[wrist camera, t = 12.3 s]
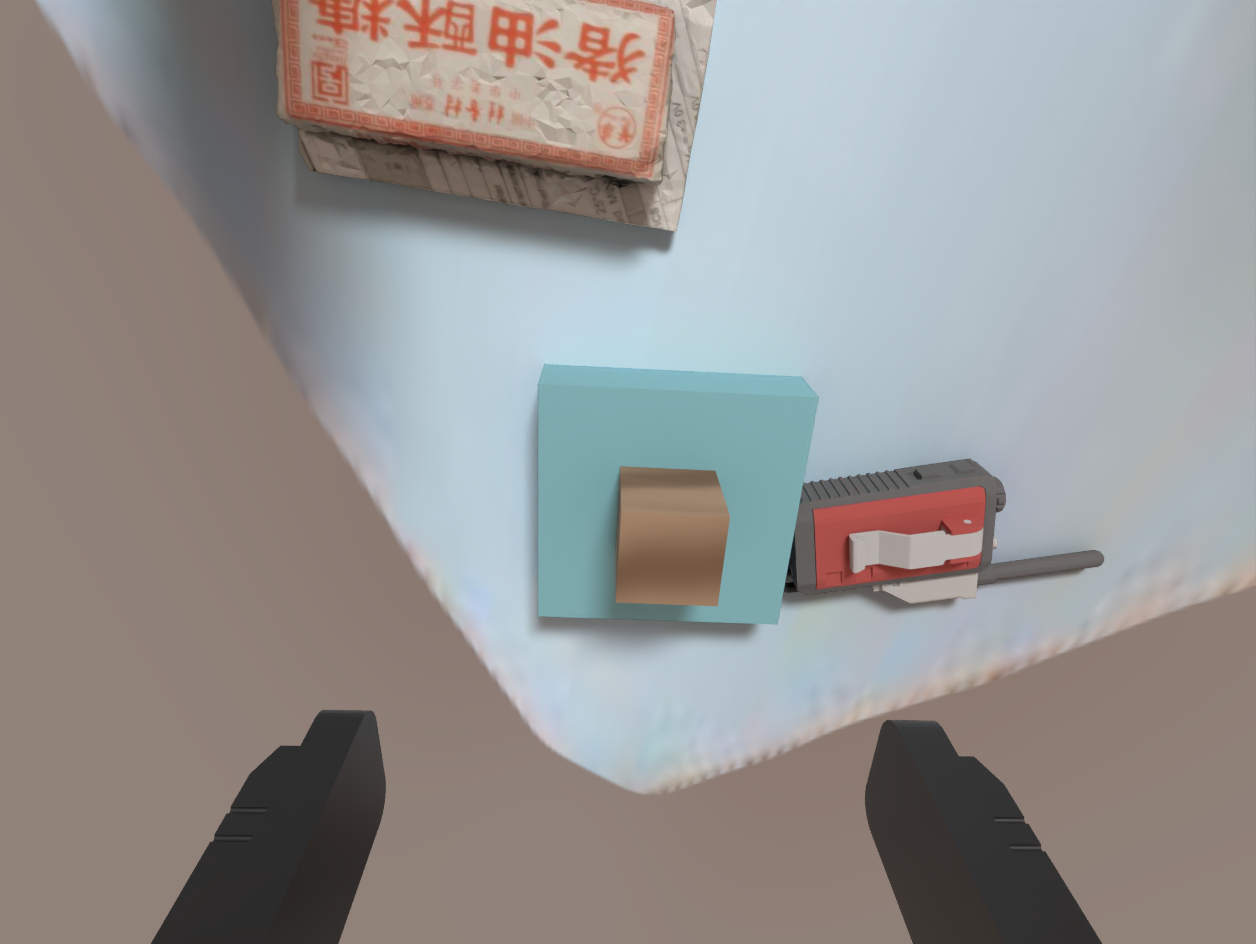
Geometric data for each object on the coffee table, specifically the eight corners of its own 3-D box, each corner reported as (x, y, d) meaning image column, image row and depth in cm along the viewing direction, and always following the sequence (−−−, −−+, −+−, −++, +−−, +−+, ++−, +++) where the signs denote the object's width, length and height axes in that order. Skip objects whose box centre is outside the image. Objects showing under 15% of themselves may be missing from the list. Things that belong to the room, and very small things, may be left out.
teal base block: (545, 361, 38) (538, 383, 34) (799, 373, 38) (818, 397, 35) (544, 577, 44) (538, 616, 40) (764, 585, 44) (777, 624, 40)
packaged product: (263, 172, 29) (247, -126, 25) (309, 169, 33) (302, -85, 29) (684, 241, 30) (734, -29, 26) (675, 230, 35) (717, -3, 31)
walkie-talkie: (770, 602, 45) (1086, 560, 44) (785, 647, 41) (1134, 602, 40) (760, 481, 41) (1106, 432, 40) (777, 518, 37) (1161, 464, 36)
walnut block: (620, 466, 36) (621, 511, 31) (715, 470, 36) (730, 516, 32) (615, 548, 38) (615, 602, 34) (705, 552, 38) (717, 606, 34)
